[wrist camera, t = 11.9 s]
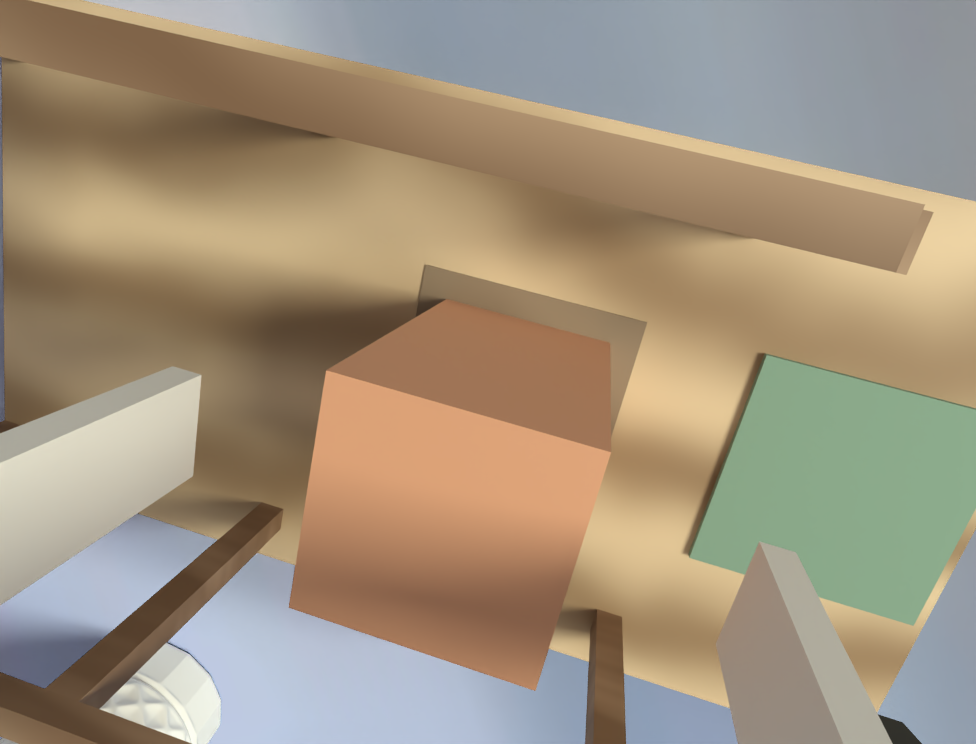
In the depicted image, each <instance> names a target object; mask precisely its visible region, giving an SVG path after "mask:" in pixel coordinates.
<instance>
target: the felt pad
mask: <svg viewBox="0 0 976 744" xmlns="http://www.w3.org/2000/svg"><path fill="white" fill-rule="evenodd" d="M975 509H976V408H972V407H969V406H965V405H961V404H957V403H953V402H950V401H946V400H942V399H938V398H934V397H930V396H927V395H923V394H919V393H915V392H911V391H908V390H904V389H900V388H896V387H892V386H888V385H885V384H881V383H877V382H873V381H869V380H866V379H862V378H858V377H854V376H850V375H846V374H843V373H839V372H835V371H831V370H827V369H824V368H820V367H816V366H812V365H808V364H804V363H801V362H797V361H793V360H789V359H785V358H782V357H778V356H774V355H770V354H766V353H764V356H763V359H762V361H761V364H760V367H759V369H758V372H757V374H756V377H755V380H754V382H753V385H752V388H751V390H750V393H749V395H748V398H747V401H746V403H745V406H744V409H743V411H742V414H741V416H740V419H739V422H738V424H737V427H736V430H735V432H734V435H733V438H732V440H731V443H730V445H729V448H728V451H727V453H726V456H725V459H724V461H723V464H722V466H721V469H720V472H719V474H718V477H717V480H716V482H715V485H714V487H713V490H712V493H711V495H710V498H709V501H708V503H707V506H706V508H705V511H704V514H703V516H702V519H701V522H700V524H699V527H698V530H697V532H696V535H695V537H694V540H693V543H692V545H691V548H690V551H689V553H688V554H689V558H691V559H695V560H698V561H701V562H704V563H708V564H711V565H714V566H718V567H721V568H724V569H728V570H731V571H734V572H737V573H741V574H744V575H745V574H746V571H747V569H748V567H749V564H750V562H751V560H752V557H753V555H754V553H755V550H756V548H757V546H758V543H759V541H760V542H763V543H766V544H770V545H773V546H776V547H780V548H783V549H787V550H790V551H793V552H796V553H797V555H798V557H799V559H800V561H801V563H802V565H803V567H804V569H805V571H806V573H807V575H808V577H809V579H810V581H811V583H812V585H813V587H814V589H815V591H816V593H817V595H818V597H820V598H823V599H826V600H830V601H833V602H836V603H840V604H843V605H846V606H849V607H853V608H856V609H859V610H863V611H866V612H869V613H872V614H876V615H879V616H882V617H886V618H889V619H892V620H896V621H899V622H902V623H905V624H909V625H912V626H914V624H915V622H916V620H917V618H918V617H919V615H920V613H921V611H922V609H923V607H924V605H925V603H926V602H927V600H928V598H929V596H930V594H931V592H932V590H933V588H934V586H935V585H936V583H937V581H938V579H939V577H940V575H941V573H942V571H943V569H944V568H945V566H946V564H947V562H948V560H949V558H950V556H951V554H952V553H953V551H954V549H955V547H956V545H957V543H958V541H959V539H960V537H961V536H962V534H963V532H964V530H965V528H966V526H967V524H968V522H969V521H970V519H971V517H972V515H973V513H974V511H975Z"/></svg>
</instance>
